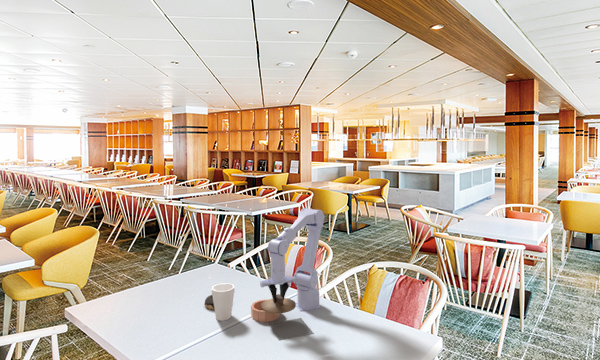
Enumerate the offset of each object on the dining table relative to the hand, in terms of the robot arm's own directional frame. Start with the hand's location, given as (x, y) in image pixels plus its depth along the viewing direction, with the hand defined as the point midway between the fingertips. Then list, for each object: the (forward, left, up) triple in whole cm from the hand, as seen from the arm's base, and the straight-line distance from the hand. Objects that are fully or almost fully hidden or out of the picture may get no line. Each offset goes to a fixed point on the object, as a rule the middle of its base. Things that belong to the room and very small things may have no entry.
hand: (278, 301), depth 152 cm
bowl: (+3, -8, -9) cm, 12 cm away
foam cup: (+20, -13, -9) cm, 26 cm away
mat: (-3, +7, -9) cm, 12 cm away
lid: (0, 0, -2) cm, 2 cm away
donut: (+21, -26, -9) cm, 35 cm away
